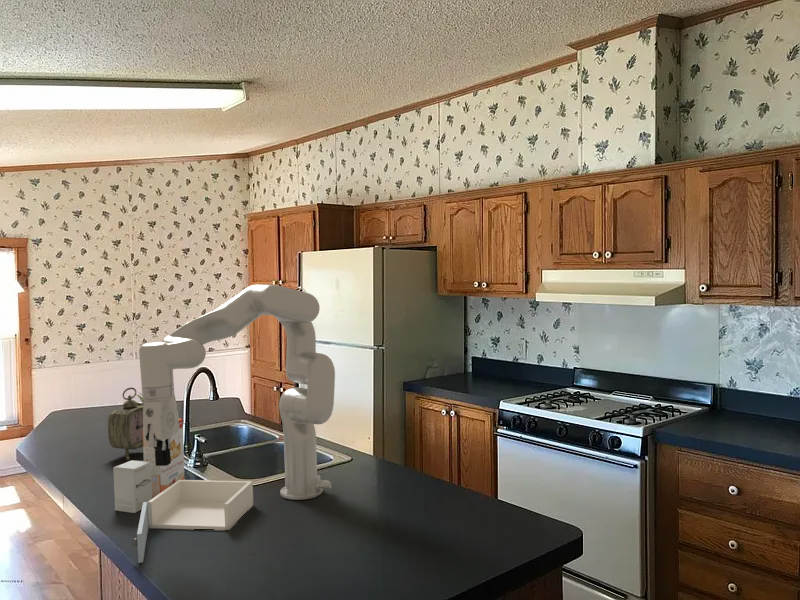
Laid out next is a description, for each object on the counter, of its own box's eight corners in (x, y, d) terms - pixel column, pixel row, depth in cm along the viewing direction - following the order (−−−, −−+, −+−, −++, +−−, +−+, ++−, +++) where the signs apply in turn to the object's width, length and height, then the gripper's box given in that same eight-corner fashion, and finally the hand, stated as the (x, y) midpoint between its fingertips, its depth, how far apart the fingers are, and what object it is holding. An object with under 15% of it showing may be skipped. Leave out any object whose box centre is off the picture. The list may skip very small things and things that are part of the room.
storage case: (253, 505, 193) (252, 481, 192) (228, 530, 175) (227, 504, 175) (180, 503, 196) (179, 479, 195) (148, 528, 178) (147, 501, 178)
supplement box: (135, 513, 189) (133, 469, 188) (114, 510, 191) (112, 466, 191) (153, 504, 196) (151, 461, 195) (133, 501, 198) (131, 459, 198)
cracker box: (162, 498, 201) (159, 428, 199) (144, 497, 202) (140, 428, 201) (186, 483, 214) (183, 417, 213) (169, 482, 216) (166, 417, 214)
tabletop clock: (128, 462, 239) (124, 392, 237) (107, 460, 242) (103, 391, 240) (155, 451, 252) (152, 384, 251) (135, 449, 255) (132, 383, 254)
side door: (142, 562, 157) (141, 533, 156) (132, 563, 156) (131, 534, 156) (148, 527, 178) (147, 501, 177) (139, 528, 177) (138, 503, 177)
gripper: (157, 399, 160) (163, 474, 161) (186, 385, 175) (190, 455, 176) (128, 399, 161) (133, 474, 162) (158, 386, 176) (163, 455, 177)
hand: (163, 464), depth 169 cm, fingers closed
